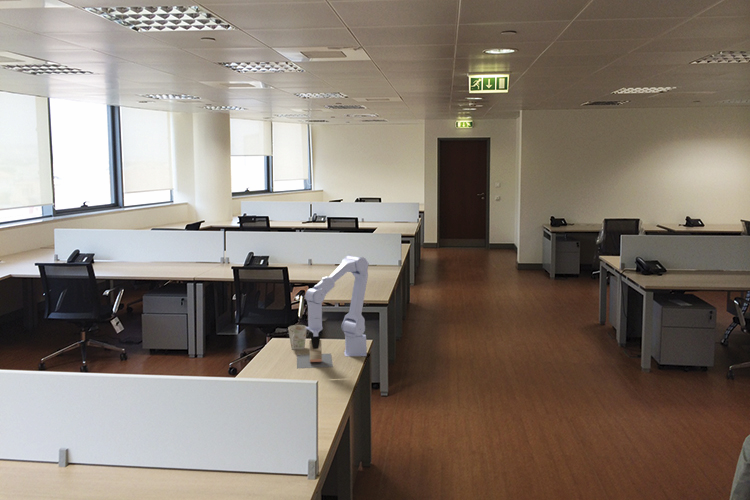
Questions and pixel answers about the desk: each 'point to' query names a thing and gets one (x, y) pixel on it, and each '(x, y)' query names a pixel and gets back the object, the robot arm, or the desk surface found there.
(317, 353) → the block
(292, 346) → the mug
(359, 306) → the robot arm
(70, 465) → the desk surface
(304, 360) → the mat
